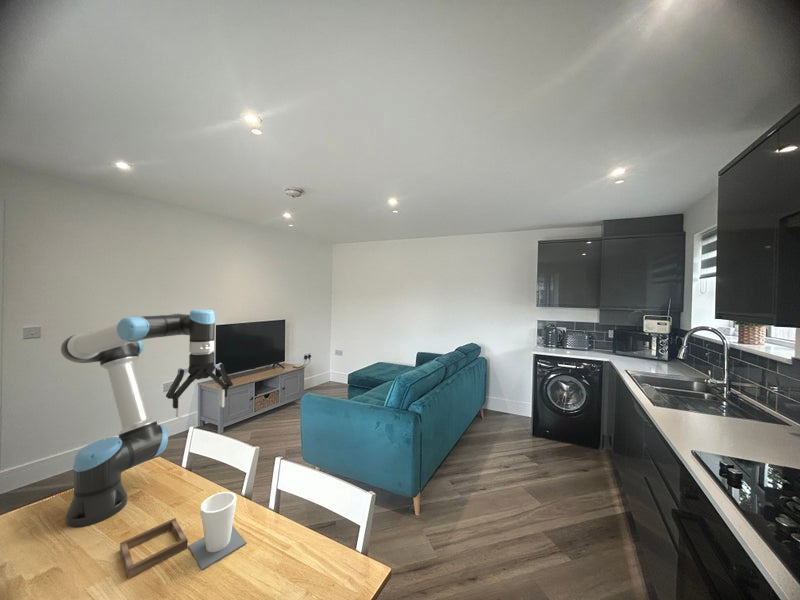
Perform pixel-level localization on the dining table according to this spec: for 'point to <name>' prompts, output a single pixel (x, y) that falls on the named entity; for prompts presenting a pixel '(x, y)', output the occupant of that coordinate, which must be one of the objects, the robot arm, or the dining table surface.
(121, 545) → the frame
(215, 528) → the foam cup
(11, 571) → the dining table surface
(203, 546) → the mat
